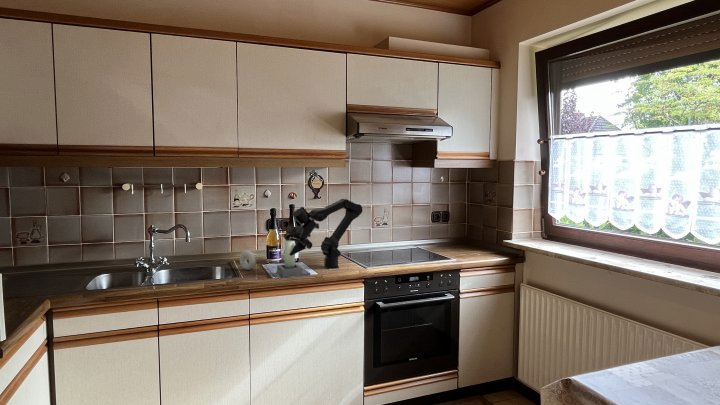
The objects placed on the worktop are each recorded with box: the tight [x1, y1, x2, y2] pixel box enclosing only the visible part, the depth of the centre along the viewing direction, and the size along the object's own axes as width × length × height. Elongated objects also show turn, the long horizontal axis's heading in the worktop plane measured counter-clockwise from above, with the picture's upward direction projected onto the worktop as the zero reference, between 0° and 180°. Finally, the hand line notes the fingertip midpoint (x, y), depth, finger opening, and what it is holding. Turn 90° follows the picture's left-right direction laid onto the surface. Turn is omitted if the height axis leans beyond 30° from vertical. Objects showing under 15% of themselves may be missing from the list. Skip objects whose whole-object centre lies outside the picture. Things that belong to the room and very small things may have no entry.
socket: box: [275, 263, 311, 279], centre depth 223 cm, size 14×11×4 cm
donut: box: [239, 250, 257, 271], centre depth 229 cm, size 10×4×10 cm, turn 58°
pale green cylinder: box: [284, 239, 296, 268], centre depth 221 cm, size 5×5×13 cm
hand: (287, 254), depth 220 cm, fingers closed on pale green cylinder, 5 cm apart
